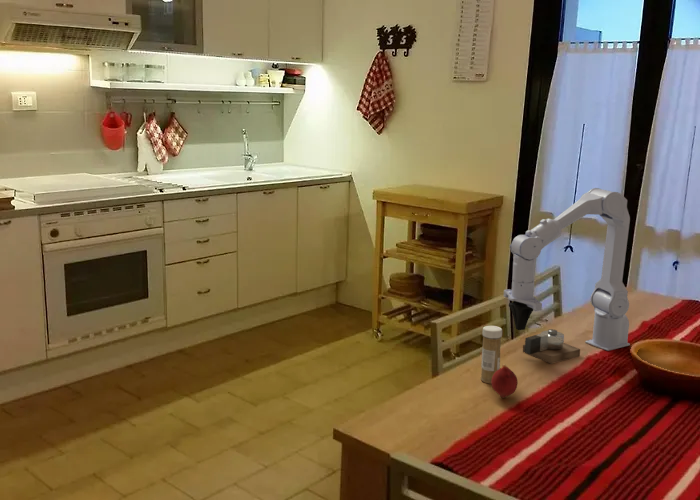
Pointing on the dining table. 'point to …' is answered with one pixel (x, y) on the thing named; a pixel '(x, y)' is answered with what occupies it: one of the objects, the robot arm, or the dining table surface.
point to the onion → (504, 381)
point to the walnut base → (557, 353)
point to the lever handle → (544, 341)
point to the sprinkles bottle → (490, 352)
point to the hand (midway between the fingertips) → (520, 329)
